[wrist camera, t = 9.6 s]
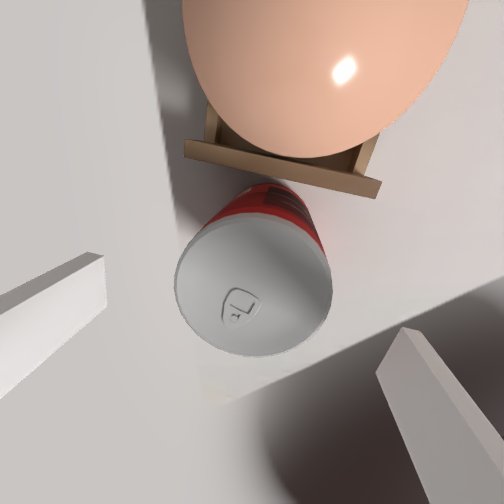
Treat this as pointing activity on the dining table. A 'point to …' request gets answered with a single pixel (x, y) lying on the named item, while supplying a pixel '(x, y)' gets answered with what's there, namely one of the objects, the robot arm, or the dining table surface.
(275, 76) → the peach rounded capsule
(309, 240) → the canned food
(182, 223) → the dining table surface
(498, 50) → the dining table surface
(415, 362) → the robot arm
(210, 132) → the brown wooden tray
